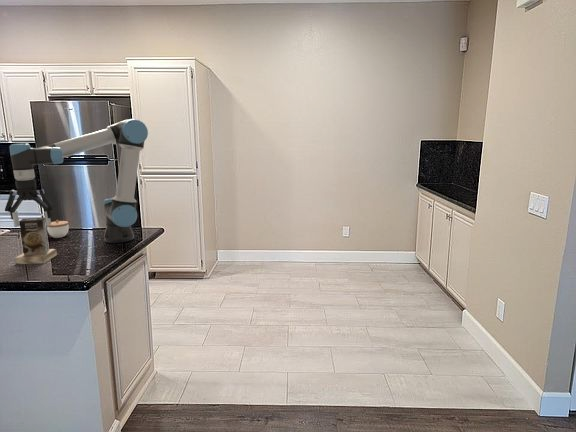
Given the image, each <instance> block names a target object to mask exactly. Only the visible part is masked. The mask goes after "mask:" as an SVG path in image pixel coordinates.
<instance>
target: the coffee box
mask: <svg viewBox="0 0 576 432" xmlns="http://www.w3.org/2000/svg"><path fill="white" fill-rule="evenodd" d="M19 223H20V226H19V229H20V235H21V243H22V249H23V253H24V256H28V255H38V254H47V253H48V251H49V249H50V248H49V247H50V246H49V240H48V230H47V226H46V220H45V216H44V217H32V218H31V217H30V218H22V219H19Z"/></svg>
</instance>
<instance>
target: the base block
mask: <svg viewBox="0 0 576 432" xmlns="http://www.w3.org/2000/svg"><path fill="white" fill-rule="evenodd" d="M57 255H58V252H57V248H49V251H48V253H47V254H38V255H28V256H24V252H23V253H21V254H19V255H17V256H15V257H14V261H15V265H32V264H34V265H35V264H46V263H47V262H49V261H50V260H51V259H53V258H55V257H57Z"/></svg>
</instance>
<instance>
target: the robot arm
mask: <svg viewBox="0 0 576 432" xmlns="http://www.w3.org/2000/svg"><path fill="white" fill-rule="evenodd" d="M148 134H149V131H148V127H147V125H146V123H144V122H143V121H141V120H140V119H135V118H129V119H124V120H121V121H119V122H116V123H113V124H111V125H108V126H106V128H104V129H101V130H98V131H94V132H91V133H86V134H83V135H80V136H77V137H73V138H69V139H66V140H62V141H59V142H55V143H52V144H51V143H50V144H47V145H43V146H39V147H31V145H30V144H29V143H13V144H12V143H11V144H10V145H9V152H10V153H9V154H10V160H11V164H12V170H13V171H12V172H13V176H14V179H15V187H16V188H15V189H16V190H15V189H11V190H9V196H8V199H7V202H6V205H5V207H4V211H5V212H8V213H10V219H11V220H13V226H14V227H15V228H17V227H20V223H19V221H20V219H19V214H18V211H17V209H18V207H19V206H20V205H21V203H23V201H34V202H35V203H37V204H38V205H39V206H40V207H41V208H42V209H43V210H44V212H43V213H44V217H45V222H46V227H47V226H49V225H51V222H52V220H51V218H52V217H53V215H52V210H54V209H56V206H55V205H54V203H53V202H52V201H51V200H50V198H49V196H48V195H47V193H46V190H45V189H44V188H42V189H38V188H37V181H36V179H35V178H36V174H35V169H34V166H39V165H59V164H63V162H64V158H68V157H70V156H75V155H77V154H81V153H84V152H87V151H88V152H89V151H90V150H93V149H98V148H101V147H103V146H107V145H111V144H113V145H117V144H118V146H119V147H120V148H121V150H120V159H119V167H118V176H117V182H116V183H117V185H116V193H115V196H114V197H111V198H106V199H104V200H103V207H104V216H105V225H106V228H105V231H104V235H103V240H104V242H105V243H107V244H108V243H109V244H118V243H125V242H129V241H132V240H134V239H135V234H134V233H135V232H134V231H133V230H132V227H131V226H132V225H134V224H135V223H136V221H137V219H138V212H137V211H138V210H137V202H138V201H137V199H135V191H136V184H137V178H138V177H137V176H138V167H139V161H140V153H141V151H142V150H144V145H145V141H146V140H147V138H148ZM17 195H18V197H17V198H16V196H17ZM39 195H40V196H39ZM41 198H42V199H41ZM15 199H16V200H15Z"/></svg>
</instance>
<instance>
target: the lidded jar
mask: <svg viewBox="0 0 576 432" xmlns="http://www.w3.org/2000/svg"><path fill="white" fill-rule="evenodd" d="M69 226H70V225H69V221H66V220H59V219H56V220H55V221H51V225H49V226H46V231H47V234H49V236H51V237H52V238H53V239H58V238H63V237H66V235H67V234H68V233H69V229H70V227H69Z"/></svg>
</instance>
